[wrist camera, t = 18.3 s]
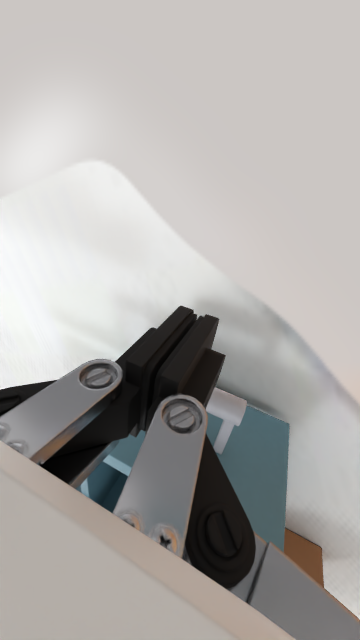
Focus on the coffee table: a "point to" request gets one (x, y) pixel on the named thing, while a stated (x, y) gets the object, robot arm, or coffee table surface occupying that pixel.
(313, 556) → the brown rectangular box
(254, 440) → the drawer
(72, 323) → the coffee table surface
